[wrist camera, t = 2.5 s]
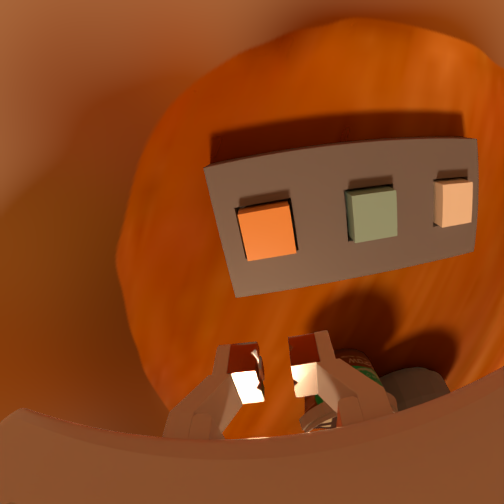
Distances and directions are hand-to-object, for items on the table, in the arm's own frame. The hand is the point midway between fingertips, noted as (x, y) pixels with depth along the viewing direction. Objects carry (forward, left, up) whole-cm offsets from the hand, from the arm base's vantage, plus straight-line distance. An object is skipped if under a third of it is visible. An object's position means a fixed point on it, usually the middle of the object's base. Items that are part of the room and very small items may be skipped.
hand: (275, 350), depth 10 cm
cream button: (-18, 0, -15) cm, 23 cm away
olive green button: (-9, 0, -15) cm, 17 cm away
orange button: (0, 0, -15) cm, 15 cm away
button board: (-9, 0, -17) cm, 19 cm away
